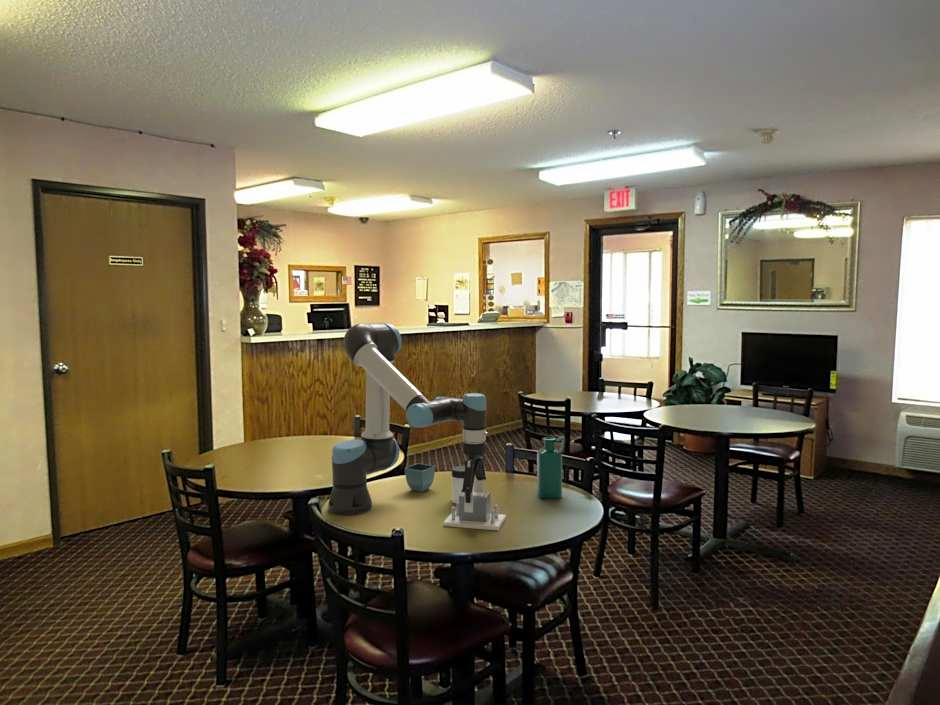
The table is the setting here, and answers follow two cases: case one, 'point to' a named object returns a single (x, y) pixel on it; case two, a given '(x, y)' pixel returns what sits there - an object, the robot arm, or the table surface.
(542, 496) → the pitcher
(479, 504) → the block
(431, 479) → the flower pot
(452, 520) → the pin tray
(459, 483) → the jar
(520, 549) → the table surface
